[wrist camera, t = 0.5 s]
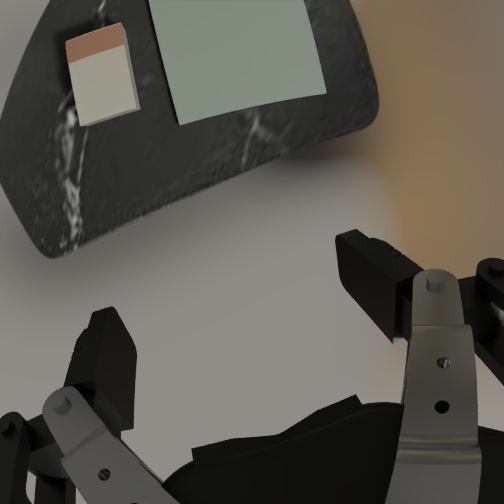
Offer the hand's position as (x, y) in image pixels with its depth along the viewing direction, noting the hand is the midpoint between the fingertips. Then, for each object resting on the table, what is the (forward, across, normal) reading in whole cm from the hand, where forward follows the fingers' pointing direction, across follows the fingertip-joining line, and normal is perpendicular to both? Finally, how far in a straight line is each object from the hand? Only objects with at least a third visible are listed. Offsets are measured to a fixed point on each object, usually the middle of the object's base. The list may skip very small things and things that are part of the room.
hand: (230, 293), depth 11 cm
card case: (+25, +6, -12) cm, 29 cm away
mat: (+25, -8, -12) cm, 29 cm away
